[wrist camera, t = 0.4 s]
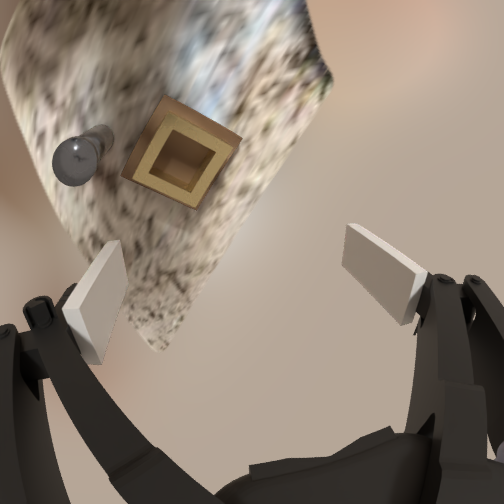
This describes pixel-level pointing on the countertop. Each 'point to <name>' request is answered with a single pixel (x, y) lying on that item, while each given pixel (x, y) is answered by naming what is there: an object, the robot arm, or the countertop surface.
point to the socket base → (178, 146)
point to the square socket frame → (203, 174)
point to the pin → (81, 155)
